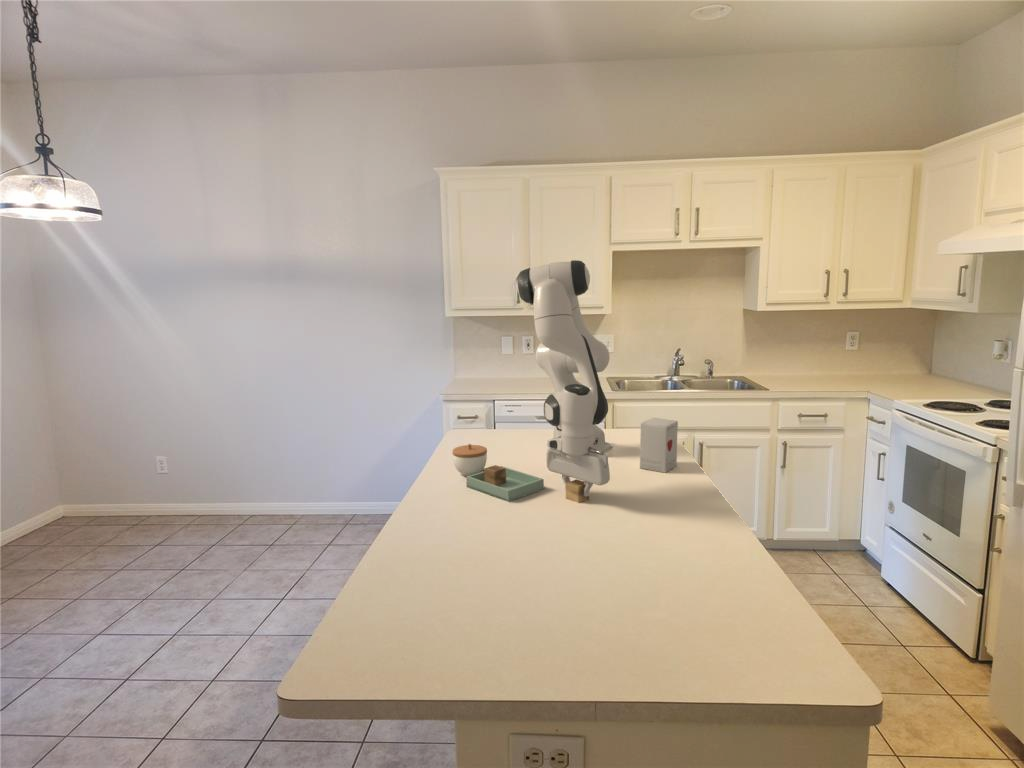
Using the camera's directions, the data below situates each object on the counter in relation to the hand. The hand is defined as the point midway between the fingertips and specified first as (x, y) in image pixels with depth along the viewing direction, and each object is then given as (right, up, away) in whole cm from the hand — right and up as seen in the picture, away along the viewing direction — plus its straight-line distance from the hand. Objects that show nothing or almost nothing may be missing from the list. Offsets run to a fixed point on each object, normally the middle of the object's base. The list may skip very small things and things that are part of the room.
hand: (577, 492), depth 179 cm
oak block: (0, -2, 0) cm, 2 cm away
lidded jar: (-31, +2, +24) cm, 40 cm away
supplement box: (+28, +3, +27) cm, 39 cm away
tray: (-20, 0, +10) cm, 23 cm away
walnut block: (-23, +1, +13) cm, 26 cm away
